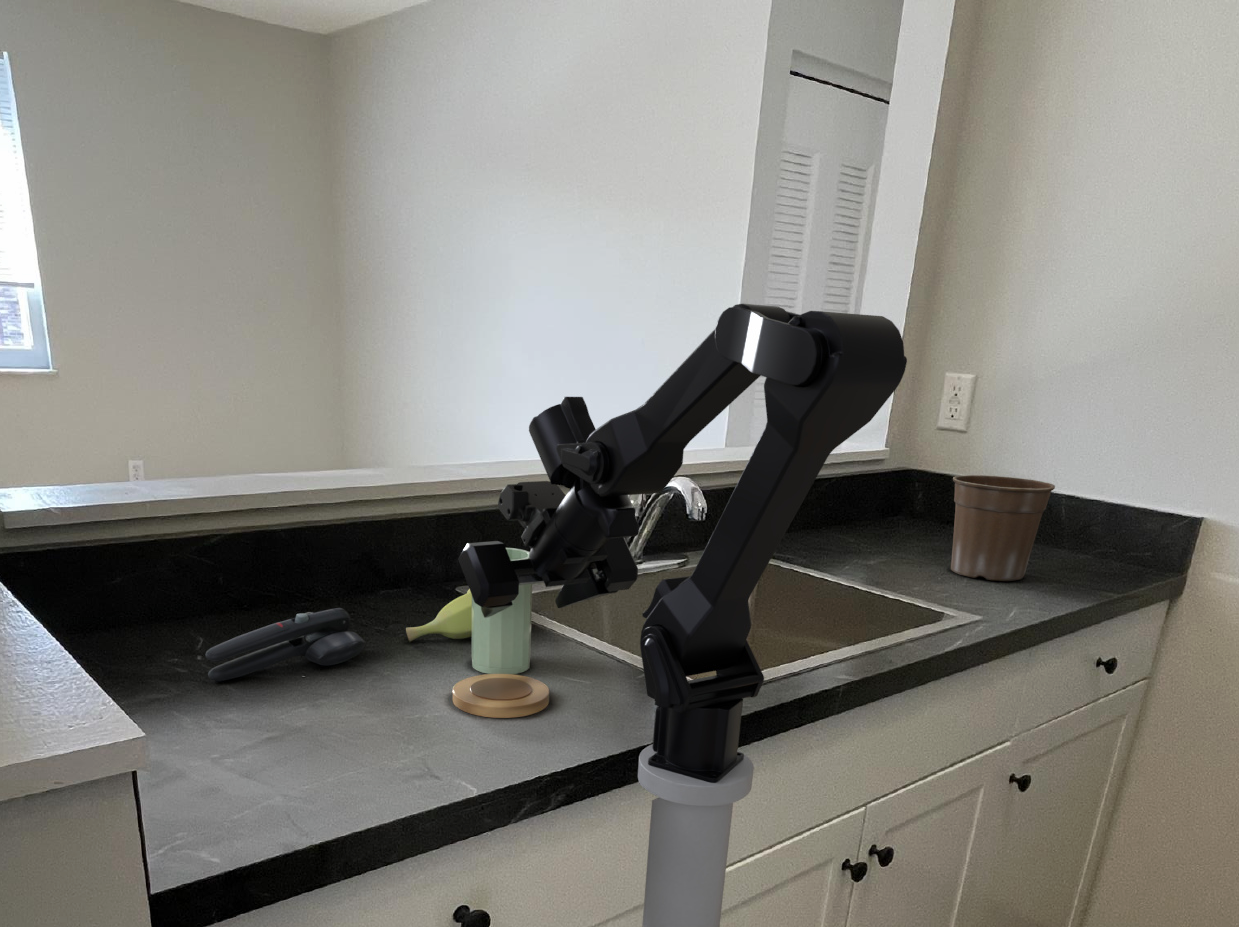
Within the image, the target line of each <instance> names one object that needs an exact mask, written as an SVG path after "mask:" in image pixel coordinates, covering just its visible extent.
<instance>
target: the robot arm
mask: <svg viewBox="0 0 1239 927" xmlns="http://www.w3.org/2000/svg"><path fill="white" fill-rule="evenodd" d="M907 363H908V358H907V356H905V347H904V340H903V337H902V335H901V332H900V329H899V328H898V327H897V326H896V325H895V323H894V322H893V321H892V320H891V319H888V318H887V317H885V316H884V315H873V314H860V313H847V312H834V311H823V310H822V311H821V310H820V311H819V310H809V311H806V312H804V313H801V314H799V313H796V312H792V311H787V310H786V309H785V308H783V307H780V306H777V305H766V304H765V305H764V304H752V303H738V304H734V305H733V306H731V307H727V308H726V309H725V310H723V311H722V313H721V314H720V316H719V317H718V319H717V322H716V325H715V328H713V330H712V331H711V332H710V333H709V334H708V335H707V336H706V337H705V338H704V340H702V342H700V344H699V345H698V346H697V347H696V348H695V349H694V350H693V351H692V352H691V353H690V354H689V355H688V357H687V358H685V359H684V360H683V361H682V363H680V365H679V366H678V367H677V368H676V369H675V370H674V371H673V372H672V373H671V374H670V375H669V376H668V378H666V380H665V381H664V382H663V383H662V384H661V385H660V386H659V387H658V388H657V389H656V390H655V391H654V392H653V393H652V395H650V397H649V398H648V399H647V400H646V401H645V402H644V403H643V404H642V405H640V406H639V407H637V408H636V409H634V410H631V411H628V412H626V413H622V414H621V415H618V416H615V417H613V418H610V419H609V420H607V421H606V422H604V423H603V424H601V425H600V426H599V427H597V428H596V427H595V424H594V423H593V421H592V418H591V415H590V413H589V409H588V406H587V403H586V401H585V399H584V397H583V396H564V397H563V398H562V400H561V402H560V403H558V404H555V405H553V406H550V407H548V408H546V409H544V410H543V411H542V412H540V413H539V414H538V415H537V416H534V417H533V418H532V419H531V421H530V423H529V425H528V432H529V436H530V437H531V440H532V442H533V444H534V447H535V448H536V451H537V453H538V456H539V458H540V461H541V463H542V465H543V468H544V470H545V473H546V475H547V477H548V480H538V481H535V480H534V481H519V482H517V483H513V484H506V486H504V488H503V489H502V491H501V492H500V494H499V497H498V500H497V508H498V510H499V511H500V512H501V514H502V515H503V516H504V518H505V519H506V521H508V522H509V521H510V522H511V521H518V523H519V524H520V525H521V526H522V528H523V529H524V531H523V533H522V534H521V536H520V538H521V540H522V542H523V545H524V547H528V548H529V549H530V551H528V552H529V559H524V560H514V561H511V560H510V557H509V555H508V552H507V550H506V548H507V547H506V544H505V543H504V542H502V541H498V540H493V541H491V540H490V541H482V542H481V541H479V542H467V543H466V545H465V547H464V548H463V549H462V552H460V555H459V557H458V559H457V560H458V562H459V565H460V569H461V571H462V573H463V576H464V578H465V581H466V584H467V586H468V588H469V589H470V591H471V594H472V597H473V599H474V602H475V603H476V604H477V605H479V606H481V611H482V613H483V616H484V618H488V617H490V616H492V615H495V614H496V613H498V612H500V611H502V610H504V609H506V608H508V607H510V606H512V605H513V604H512V601H513V600H515V599H516V597H517V596H518V594H519V585H525V584H532V585H533V584H542V583H544V585H545V588H550V587H551V588H552V587H557V586H558V587H560V586H561V588H560V589H559V591H558V593H557V595H556V598H555V599H554V601H555V604H556V607H557V608H558V609H562V608H566V607H569V606H573V605H576V604H579V603H582V602H587V601H589V600H593V599H597V598H601V597H605V596H608V595H613V594H616V593H618V592H619V591H627V590H630V589H631V587H633V585H634V584H635V583H636V582H637V580H638V577H639V567H638V565H637V563H636V560H635V558H634V556H633V555H632V551H631V549H630V548H629V547H630V546H629V545H628V542H627V541H626V538H630V537H637V536H639V533H640V527H639V521H638V520H637V517H636V508H635V507H633V504H632V502H631V499H630V497H629V496H635V495H651V494H658V493H660V492H663V490H665V488H666V487H667V486H668V485H669V484H670V482H671V481H672V479H673V478H674V477H675V476H676V474H677V473H678V471H679V470H680V469H681V467H682V466H683V462H684V451H685V449H686V447H687V446H688V445H689V443H690V442H691V441H692V440H694V438H695V437H697V435H698V434H700V433H701V432H702V431H703V430H704V429H705V428H706V427H707V426H708V425H709V424H710V423H711V422H713V421H714V420H715V419H716V418H717V417H718V416H719V415H720V414H721V413H722V412H723V411H724V410H725V409H726V408H728V407H729V406H730V405H731V404H732V403H733V402H734V401H736V399H738V398H739V397H740V395H742V393H744V392H745V391H746V390H748V388H749V387H750V386H752V384H754V383H755V381H756V380H758V379H759V378H760V377H763V378H764V377H765V379H764V383H763V392H764V401H765V402H764V403H765V412H766V424H765V428H764V429H763V431H762V433H761V435H760V437H759V439H758V441H757V443H756V445H755V447H754V449H753V451H752V453H751V455H750V457H749V460H748V461H747V463H746V465H745V468H744V469H743V471H742V474H741V475H740V478H739V479H738V481H737V484H736V486H735V488H734V490H733V492H732V494H731V495H730V498H729V500H728V502H727V503H726V505H725V508H724V510H723V512H722V514H721V516H720V518H719V520H718V522H717V524H716V526H715V528H714V530H713V531H712V534H711V536H710V538H709V540H708V542H707V544H706V546H705V548H704V550H703V552H702V554H701V556H700V558H699V560H698V562H697V563H696V566H695V568H694V570H693V571H692V573H691V575H688V576H680V577H671V578H664V579H662V580H660V582H659V583H658V584H657V586H656V587H655V590H654V592H653V597H652V599H651V602H650V604H649V606H648V607H647V608H646V610H644V611H643V612H642V614H641V616H642V618H645V621H644V622H643V625H642V628H641V631H640V639H639V640H640V641H639V645H640V646H639V648H640V655H641V662H642V669H643V675H644V676H643V677H644V682H645V688H646V689H645V690H646V695H647V696H648V697H649V698H651V699H652V700H654V705H655V706H656V707H655V710H654V720H653V721H654V722H653V723H654V724H653V734H652V735H653V736H652V744H653V747H652V748H653V751H654V752H657V753H655V754H654V755H653V756H651V757H650V758H649V759H648V765H650V766H653V767H656V768H660V769H664V770H667V771H671V772H674V773H678V774H681V775H685V776H688V777H692V778H695V779H699V780H702V781H706V782H709V783H717V782H718V781H720V780H721V779H722V778H723V777H724V776H725V775H726V774H728V773H729V772H730V771H731V770H732V769H733V768H734V767H736V766H737V765H738V764H739V763H740V762H741V761H742V760H743V759H744V754H745V753H744V754H743V752H742V751H740V752H737V751H738V750H739V742H740V741H739V740H740V732H741V723H742V715H743V714H742V713H743V703H744V699H747V698H755V697H758V694H759V693H760V691H761V688H762V686H763V684H764V681H765V675H764V674H763V671H762V670H761V668H760V664H759V663H758V661H757V659H756V656H755V655H754V653H753V650H752V648H751V645H750V644H749V642H748V641H747V639H748V637H749V634H750V631H751V629H752V618H751V617H752V616H751V611H750V604H749V603H750V602H749V600H750V597H751V596H752V594H753V592H754V590H755V588H756V587H757V584H758V583H759V581H760V579H761V577H762V576H763V574H764V573H765V570H766V568H767V566H768V565H769V563H770V561H771V559H772V558H773V556H774V554H775V552H776V551H777V549H778V547H779V545H780V543H781V542H782V540H783V538H784V536H785V535H786V533H787V531H788V530H789V527H790V526H791V523H792V522H793V520H794V518H795V516H796V515H797V513H798V511H799V509H800V508H801V506H802V504H803V502H804V500H805V498H806V497H807V495H808V493H809V492H810V490H811V488H812V486H813V484H814V483H815V481H816V479H817V477H818V475H819V474H820V472H821V470H822V468H823V466H824V464H825V463H826V462H827V460H828V458H829V456H830V455H831V453H832V452H833V451H834V450H835V449H837V447H839V446H840V445H842V444H843V443H844V442H845V441H847V440H848V439H849V438H850V437H852V436H854V435H855V434H856V433H857V432H859V431H860V430H862V428H864V427H865V426H867V424H869V423H870V422H871V421H872V420H873V418H874V417H875V416H876V415H877V414H878V412H879V411H880V410H881V408H882V407H883V406H884V405H885V403H886V402H888V400H889V399H890V397H891V396H892V395H893V393H894V392H895V391H896V389H897V388H898V387H899V385H901V384H900V383H901V382H902V379H903V377H904V374H905V373H906V368H907ZM560 486H561V487H564V488H566V489H569V490H568V492H567V493H566V494H565V492H564V491H563V490H562V489H561V487H560ZM469 589H468V590H469ZM712 672H715V675H710V676H709V675H708V676H705V677H700V678H699V677H698V678H694V679H689V680H688V677H691V676H695V675H701V674H706V673H712ZM741 752H742V753H741Z"/></svg>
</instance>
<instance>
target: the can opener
mask: <svg viewBox="0 0 1239 927" xmlns="http://www.w3.org/2000/svg"><path fill="white" fill-rule="evenodd" d="M351 620H352V619H351V616H350V614H349V613H348V611H347V610H346V609H344V608H341V607H336V608H330V609H326V610H320V611H317V612H314V611H312V612H311V611H307V612H305V613H297V614H296V615H295V617H293V618H289V619H286V620H283V621H278V622H275V623H272V624H269V625H266V626H263V627H260V628H257V629H254V630H252V631H249V632H246V633H243V634H241V635H240V634H239V635H238V636H235V637H233V638H231V639H229V640H226V641H223V642H221V643H219V644H217V645H214V646H212V647H210V648H209V649H207V651H206V652H205V658H206V659H207V660H208V661H210V662H214V663H215V662H217V663H218V662H222V661H224V660H227V659H230V658H231V659H232V658H234V657H237V656H239V657H237V658H234V659H232V660H229V661H226V662H224V663H222V664H219V665H217V666H214V667H213V668H211V669H210V670H209V671H208V673H207V676H208V678H209V679H210V680H213V681H215V682H224V681H229V680H233V679H237V678H241V677H245V676H247V675H251V674H252V673H253V674H254V673H256V672H258V671H261V670H264V669H265V668H268V667H271V666H273V665H275V664H277V663H280V662H282V661H285V660H288V659H290V658H293V657H297V656H305V659H306V660H308V661H309V662H312V663H315V664H317V665H320V666H333V665H338V664H341V663H344V662H346V661H347V662H348V661H350V660H351V659H353V658H355V657H357V656H358V655H359V654H361V653H362V652H363V651H364V650H365V648H366V646H367V643H366V641H365V640H364V639H363V638H362V637H361V636H360V635H359V634H358V633H357V632H354V631H351V630H350V628H351V623H352V621H351ZM243 654H245V655H243ZM240 655H242V656H240Z"/></svg>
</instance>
